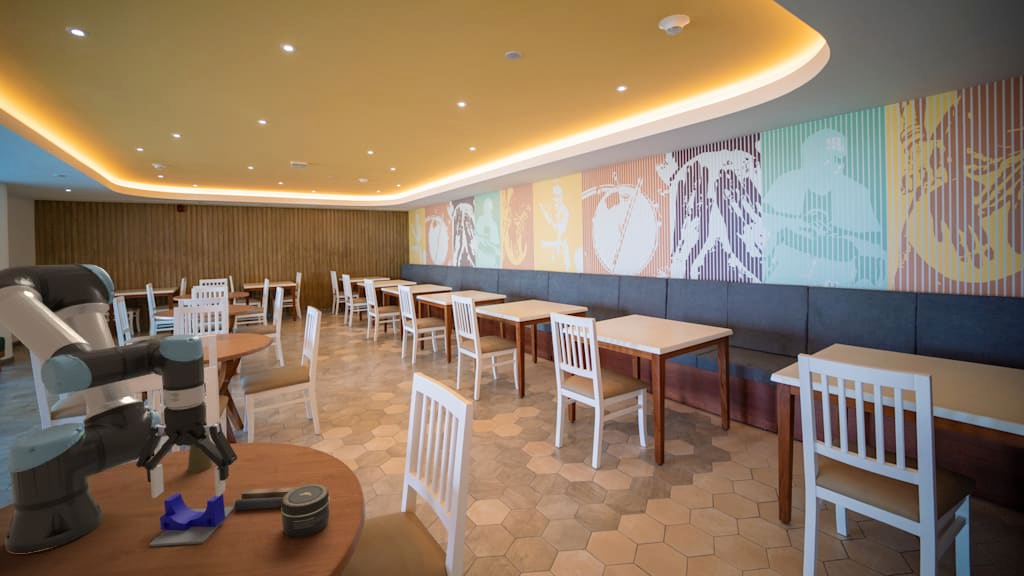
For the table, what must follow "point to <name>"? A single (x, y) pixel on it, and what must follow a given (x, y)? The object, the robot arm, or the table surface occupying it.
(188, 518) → the cable clip
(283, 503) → the jar
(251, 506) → the rod
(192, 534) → the mat
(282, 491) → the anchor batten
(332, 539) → the table surface
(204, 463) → the cork
